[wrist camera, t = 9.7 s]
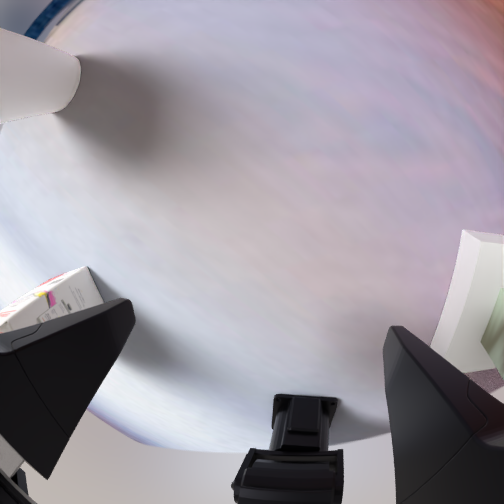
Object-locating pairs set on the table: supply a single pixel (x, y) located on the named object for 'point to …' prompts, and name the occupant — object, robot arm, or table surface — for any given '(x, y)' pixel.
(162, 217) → the table surface
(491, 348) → the sage cube
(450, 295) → the white block
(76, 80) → the foam cup
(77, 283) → the ink cartridge box
